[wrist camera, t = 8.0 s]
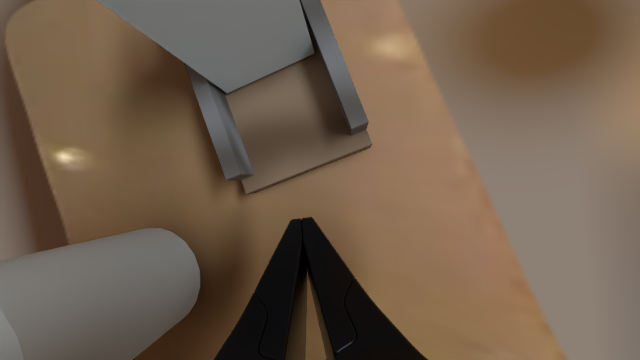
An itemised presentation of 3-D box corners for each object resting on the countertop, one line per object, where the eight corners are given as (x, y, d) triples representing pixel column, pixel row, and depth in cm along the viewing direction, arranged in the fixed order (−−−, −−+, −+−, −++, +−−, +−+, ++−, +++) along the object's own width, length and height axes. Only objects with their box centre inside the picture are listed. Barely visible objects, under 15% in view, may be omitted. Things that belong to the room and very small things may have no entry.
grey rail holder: (370, 147, 17) (376, 134, 12) (254, 192, 18) (222, 196, 13) (290, -55, 18) (269, -135, 13) (184, 0, 19) (132, -57, 14)
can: (116, 312, 19) (-257, 518, 8) (126, 219, 19) (-236, 279, 7) (202, 330, 18) (-71, 600, 7) (212, 232, 18) (-42, 325, 6)
